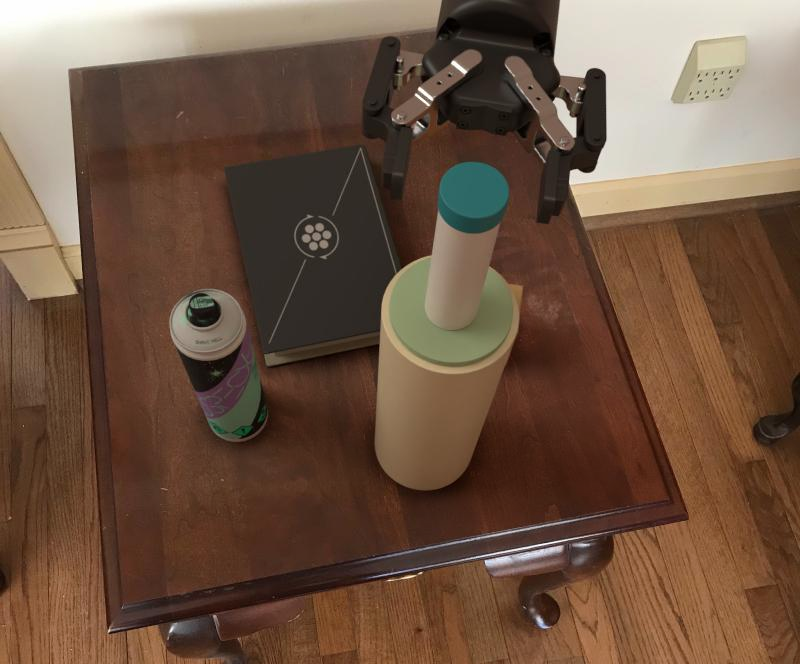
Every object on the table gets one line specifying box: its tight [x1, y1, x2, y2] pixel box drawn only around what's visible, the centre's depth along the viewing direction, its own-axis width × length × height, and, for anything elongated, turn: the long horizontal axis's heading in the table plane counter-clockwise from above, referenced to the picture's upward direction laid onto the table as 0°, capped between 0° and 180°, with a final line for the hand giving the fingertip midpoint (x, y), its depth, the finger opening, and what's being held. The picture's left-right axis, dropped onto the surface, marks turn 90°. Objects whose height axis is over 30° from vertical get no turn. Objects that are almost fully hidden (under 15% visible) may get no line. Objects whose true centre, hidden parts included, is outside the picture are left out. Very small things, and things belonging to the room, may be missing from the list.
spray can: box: [168, 288, 269, 443], centre depth 67 cm, size 6×6×20 cm
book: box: [223, 143, 403, 368], centre depth 82 cm, size 22×15×3 cm
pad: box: [389, 257, 513, 366], centre depth 54 cm, size 8×8×1 cm
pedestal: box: [374, 254, 520, 491], centre depth 65 cm, size 9×9×24 cm
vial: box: [425, 161, 510, 330], centre depth 48 cm, size 11×4×11 cm
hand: (471, 203), depth 47 cm, fingers open, 8 cm apart
